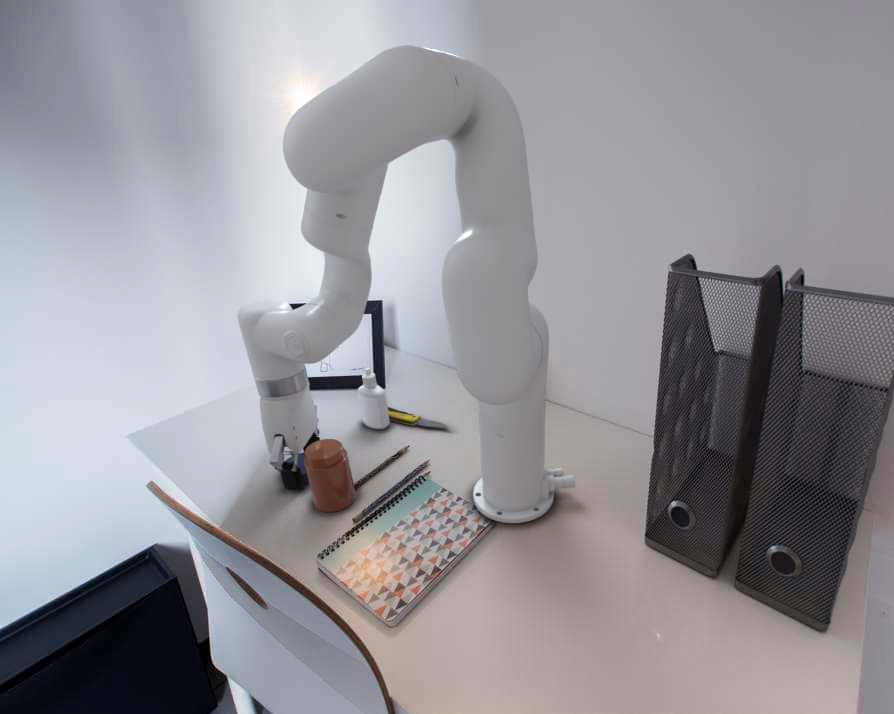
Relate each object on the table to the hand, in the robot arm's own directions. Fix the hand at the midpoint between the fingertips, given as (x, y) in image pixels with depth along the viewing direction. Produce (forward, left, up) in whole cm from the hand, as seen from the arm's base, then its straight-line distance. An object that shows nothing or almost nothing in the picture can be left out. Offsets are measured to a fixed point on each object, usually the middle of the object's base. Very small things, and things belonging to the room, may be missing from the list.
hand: (305, 471), depth 90 cm
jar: (-6, +8, 0) cm, 10 cm away
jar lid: (0, 0, +1) cm, 1 cm away
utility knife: (-19, -13, 0) cm, 23 cm away
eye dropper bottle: (-11, -14, 0) cm, 18 cm away
